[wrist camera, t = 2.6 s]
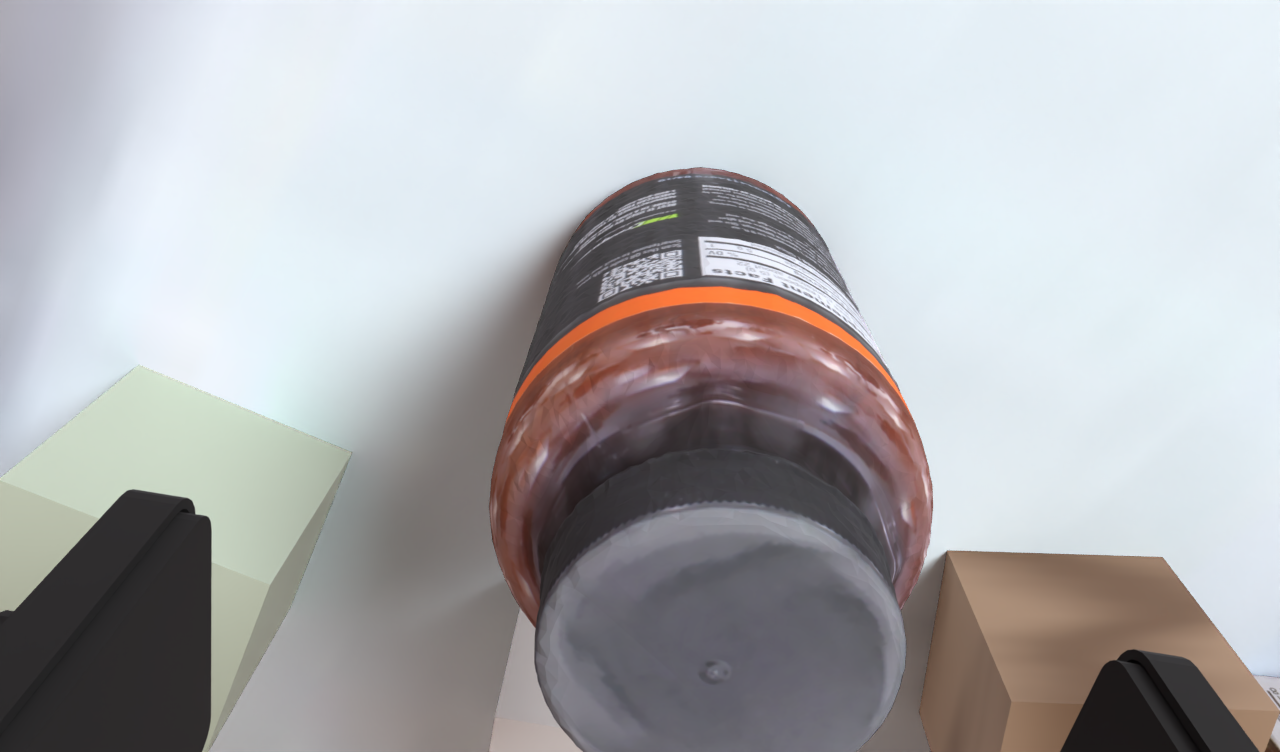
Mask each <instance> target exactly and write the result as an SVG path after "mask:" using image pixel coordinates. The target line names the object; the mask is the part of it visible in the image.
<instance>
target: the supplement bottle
mask: <svg viewBox="0 0 1280 752" xmlns="http://www.w3.org/2000/svg"><path fill="white" fill-rule="evenodd" d="M489 511H490V522H491V531H492V540H493V544H494V548H495V552H496V555H497V558H498V562H499V565H500V567H501V570H502V572H503V575H504V578H505V580H506V582H507V584H508V586H509V588H510V590H511V593H512V595H513V596H514V598H515V600H516V601H517V603H518V605H519V606H520V608H521V610H522V611H523V612H524V614H525V615H526V616H527V618H528V619H529V621H530V622H531V623H532V625H533V626H534V627H535V628H536V629H535V647H534V664H535V670H536V673H537V679H538V683H539V686H540V689H541V691H542V694H543V697H544V700H545V703H546V704H547V706H548V708H549V710H550V711H551V713H552V715H553V717H554V719H555V720H556V722H557V723H558V725H559V726H560V727H561V728H562V730H563V731H564V732H565V733H566V734H567V735H568V737H569V738H570V739H571V740H572V741H573V742H574V744H575V745H576V746H577V747H578V748H579V749H581V750H582V751H583V752H856V751H858V750H859V749H860V748H861V746H862V745H863V744H865V743H866V742H867V741H868V740H869V739H870V738H871V737H872V735H873V734H874V733H875V732H876V731H877V730H878V728H879V727H880V726H881V725H882V723H883V722H884V720H885V718H886V717H887V715H888V713H889V712H890V710H891V708H892V706H893V703H894V701H895V698H896V695H897V693H898V690H899V688H900V685H901V680H902V676H903V673H904V670H905V659H906V638H905V631H904V624H903V618H902V614H901V611H900V610H901V609H902V608H903V606H904V604H905V602H906V600H907V599H908V597H909V596H910V594H911V592H912V590H913V588H914V586H915V585H916V584H917V581H918V578H919V575H920V572H921V569H922V566H923V563H924V559H925V557H926V556H927V548H928V546H929V543H930V535H931V523H932V512H933V491H932V482H931V478H930V473H929V466H928V463H927V459H926V455H925V452H924V448H923V445H922V441H921V438H920V436H919V433H918V430H917V427H916V425H915V422H914V420H913V418H912V416H911V414H910V412H909V409H908V407H907V405H906V403H905V401H904V399H903V397H902V395H901V393H900V390H899V388H898V385H897V383H896V381H895V380H894V378H893V376H892V374H891V372H890V370H889V368H888V366H887V364H886V363H885V361H884V358H883V356H882V354H881V352H880V350H879V348H878V346H877V344H876V342H875V340H874V338H873V336H872V334H871V332H870V330H869V328H868V326H867V324H866V322H865V320H864V318H863V317H862V315H861V313H860V311H859V309H858V307H857V305H856V303H855V301H854V299H853V297H852V294H851V292H850V290H849V288H848V286H847V285H846V282H845V280H844V278H843V276H842V274H841V272H840V270H839V268H838V267H837V265H836V263H835V260H834V258H833V256H832V255H831V254H830V252H829V249H828V247H827V245H826V244H825V242H824V240H823V238H822V237H821V236H820V234H819V233H818V231H817V230H816V228H815V227H814V225H813V224H812V223H811V222H810V220H809V219H808V218H807V217H806V215H805V214H804V213H803V212H802V211H801V210H800V209H799V208H798V207H797V206H795V205H794V204H793V203H792V202H790V201H789V200H788V199H787V198H786V197H784V196H783V195H782V194H780V193H779V192H777V191H775V190H774V189H772V188H771V187H769V186H767V185H765V184H763V183H761V182H759V181H757V180H754V179H752V178H749V177H746V176H742V175H740V174H737V173H733V172H728V171H725V170H719V169H711V168H703V167H699V168H690V169H680V170H671V171H667V172H663V173H656V174H654V175H651V176H649V177H646V178H643V179H640V180H638V181H635V182H633V183H631V184H629V185H627V186H625V187H624V188H622V189H621V190H619V191H617V192H616V193H614V194H612V195H611V196H609V197H608V198H606V199H605V200H604V201H603V202H602V203H601V204H600V205H598V206H597V207H596V208H595V209H594V210H593V211H591V212H590V213H589V214H588V215H587V216H586V218H585V219H584V220H583V222H582V223H581V224H580V226H579V227H578V229H577V230H576V231H575V233H574V235H573V236H572V238H571V240H570V241H569V243H568V245H567V246H566V248H565V250H564V252H563V254H562V256H561V258H560V260H559V263H558V266H557V268H556V271H555V274H554V277H553V280H552V282H551V285H550V288H549V292H548V295H547V298H546V302H545V305H544V307H543V311H542V314H541V317H540V320H539V322H538V325H537V329H536V332H535V335H534V338H533V340H532V343H531V346H530V349H529V353H528V355H527V359H526V362H525V365H524V367H523V370H522V373H521V376H520V379H519V382H518V385H517V387H516V391H515V394H514V398H513V401H512V405H511V408H510V411H509V414H508V417H507V420H506V423H505V427H504V431H503V436H502V439H501V442H500V445H499V447H498V451H497V455H496V460H495V464H494V468H493V474H492V479H491V492H490V502H489Z"/></svg>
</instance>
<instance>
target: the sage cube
mask: <svg viewBox="0 0 1280 752" xmlns="http://www.w3.org/2000/svg"><path fill="white" fill-rule="evenodd" d="M351 454H352V452H349V451H347V450H345V449H342V448H340V447H337V446H335V445H333V444H330V443H328V442H325V441H323V440H320V439H318V438H316V437H313V436H311V435H308V434H306V433H303V432H301V431H299V430H296V429H294V428H291V427H289V426H287V425H284V424H282V423H279V422H277V421H274V420H272V419H270V418H267V417H265V416H262V415H260V414H257V413H255V412H253V411H250V410H248V409H245V408H243V407H240V406H238V405H236V404H233V403H231V402H228V401H226V400H224V399H221V398H219V397H216V396H214V395H211V394H209V393H207V392H204V391H202V390H199V389H197V388H194V387H192V386H190V385H187V384H185V383H182V382H180V381H178V380H175V379H173V378H170V377H168V376H165V375H163V374H161V373H158V372H156V371H153V370H151V369H148V368H146V367H144V366H141V365H138V366H137V367H136V368H134V369H133V370H132V371H131V372H129V373H128V374H127V375H126V376H124V377H123V378H122V379H121V380H120V381H118V382H117V383H116V384H115V385H113V386H112V387H111V388H110V389H109V390H107V391H106V392H105V393H104V394H102V395H101V396H100V397H99V398H98V399H96V400H95V401H94V402H93V403H91V404H90V405H89V406H88V407H87V408H85V409H84V410H83V411H82V412H80V413H79V414H78V415H77V416H76V417H74V418H73V419H72V420H71V421H69V422H68V423H67V424H66V425H64V426H63V427H62V428H61V429H60V430H58V431H57V432H56V433H55V434H53V435H52V436H51V437H50V438H49V439H47V440H46V441H45V442H44V443H42V444H41V445H40V446H39V447H38V448H36V449H35V450H34V451H33V452H31V453H30V454H29V455H28V456H27V457H25V458H24V459H23V460H22V461H20V462H19V463H18V464H17V465H15V466H14V467H13V468H12V469H11V470H9V471H8V472H7V473H6V474H4V475H3V476H2V477H1V478H0V612H2V611H5V610H10V611H15V610H16V608H17V607H18V606H19V605H20V604H21V603H22V602H23V601H24V600H25V599H26V598H27V597H28V595H29V594H30V593H31V592H32V591H33V590H34V589H35V588H36V587H37V586H38V585H39V584H40V583H41V581H42V580H43V579H44V578H45V577H46V576H47V575H48V574H49V573H50V572H51V571H52V570H53V568H54V567H55V566H56V565H57V564H58V563H59V562H60V561H61V560H62V559H63V558H64V557H65V555H66V554H67V553H68V552H69V551H70V550H71V549H72V548H73V547H74V546H75V545H76V544H77V542H78V541H79V540H80V539H81V538H82V537H83V536H84V535H85V534H86V533H87V532H88V531H89V529H90V528H91V527H92V526H93V525H94V524H95V523H96V522H97V521H98V520H99V519H100V518H101V516H102V515H103V514H104V513H105V512H106V511H107V510H108V509H109V508H110V507H111V506H112V505H113V503H114V502H115V501H116V500H117V499H118V498H119V497H120V496H121V495H122V494H123V493H125V492H126V491H127V490H132V489H135V490H141V491H148V492H154V493H160V494H166V495H173V496H179V497H185V498H189V499H190V500H192V501H193V504H194V506H195V514H198V515H204V516H207V517H209V519H210V521H211V528H212V577H211V722H210V728H209V732H208V736H207V740H206V743H205V745H204V748H203V751H202V752H209V750H210V748H211V746H212V745H213V743H214V741H215V739H216V737H217V736H218V734H219V732H220V730H221V729H222V727H223V725H224V723H225V722H226V720H227V718H228V716H229V715H230V713H231V711H232V709H233V708H234V706H235V704H236V702H237V701H238V699H239V697H240V695H241V694H242V692H243V690H244V688H245V687H246V685H247V683H248V681H249V680H250V678H251V676H252V674H253V673H254V671H255V669H256V667H257V666H258V664H259V662H260V660H261V659H262V657H263V655H264V653H265V652H266V650H267V648H268V646H269V645H270V643H271V641H272V639H273V638H274V636H275V634H276V632H277V631H278V629H279V627H280V625H281V623H282V622H283V620H284V618H285V616H286V615H287V613H288V611H289V609H290V607H291V605H292V602H293V600H294V597H295V595H296V592H297V590H298V587H299V585H300V582H301V580H302V577H303V575H304V572H305V570H306V567H307V565H308V562H309V560H310V557H311V555H312V552H313V550H314V547H315V545H316V542H317V540H318V537H319V535H320V532H321V530H322V527H323V525H324V522H325V520H326V517H327V515H328V512H329V510H330V507H331V505H332V502H333V500H334V497H335V495H336V492H337V490H338V487H339V485H340V482H341V480H342V477H343V475H344V472H345V470H346V467H347V465H348V462H349V459H350V457H351Z"/></svg>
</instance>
